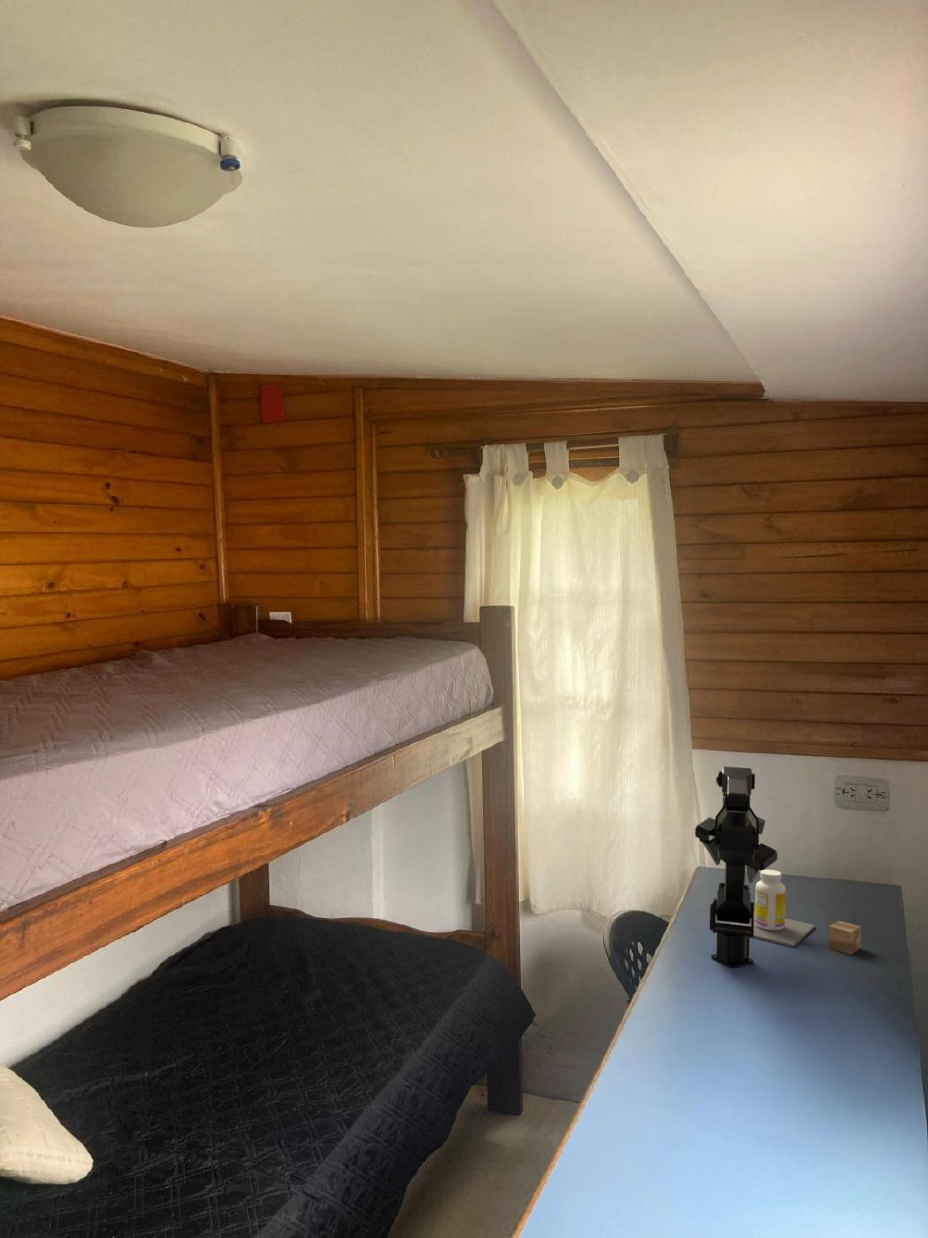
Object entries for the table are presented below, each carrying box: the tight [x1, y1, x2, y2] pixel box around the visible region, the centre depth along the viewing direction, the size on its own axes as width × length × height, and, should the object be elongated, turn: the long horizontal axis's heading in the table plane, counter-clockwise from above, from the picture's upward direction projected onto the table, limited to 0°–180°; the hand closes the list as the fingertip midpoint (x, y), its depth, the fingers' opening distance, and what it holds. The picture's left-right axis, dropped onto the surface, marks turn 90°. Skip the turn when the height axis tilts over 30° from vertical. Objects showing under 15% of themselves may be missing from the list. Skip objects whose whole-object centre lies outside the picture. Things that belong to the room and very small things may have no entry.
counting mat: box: [729, 911, 816, 948], centre depth 221 cm, size 16×16×1 cm
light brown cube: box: [827, 920, 862, 955], centre depth 210 cm, size 5×5×5 cm
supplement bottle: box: [754, 869, 786, 931], centre depth 221 cm, size 7×7×13 cm
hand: (734, 873), depth 219 cm, fingers open, 9 cm apart
